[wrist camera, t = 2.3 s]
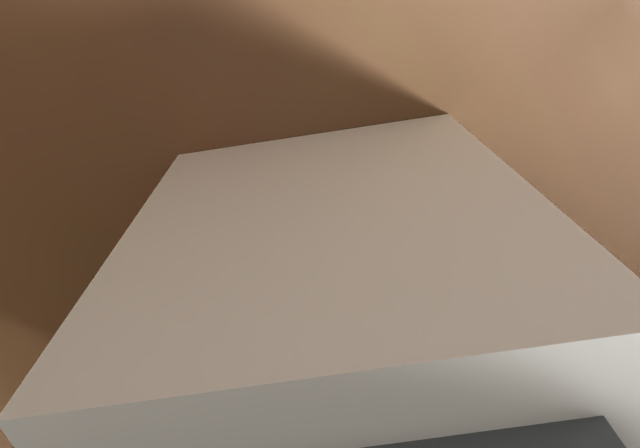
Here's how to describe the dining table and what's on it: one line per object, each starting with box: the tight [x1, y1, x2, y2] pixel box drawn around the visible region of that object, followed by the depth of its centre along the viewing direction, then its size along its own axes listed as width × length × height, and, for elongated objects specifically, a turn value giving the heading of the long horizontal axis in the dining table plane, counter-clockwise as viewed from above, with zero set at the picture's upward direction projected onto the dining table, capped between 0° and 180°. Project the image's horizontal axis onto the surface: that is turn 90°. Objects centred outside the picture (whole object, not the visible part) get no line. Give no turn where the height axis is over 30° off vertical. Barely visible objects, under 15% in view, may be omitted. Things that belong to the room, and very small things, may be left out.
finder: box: [0, 114, 640, 448], centre depth 9 cm, size 10×6×7 cm, turn 8°
